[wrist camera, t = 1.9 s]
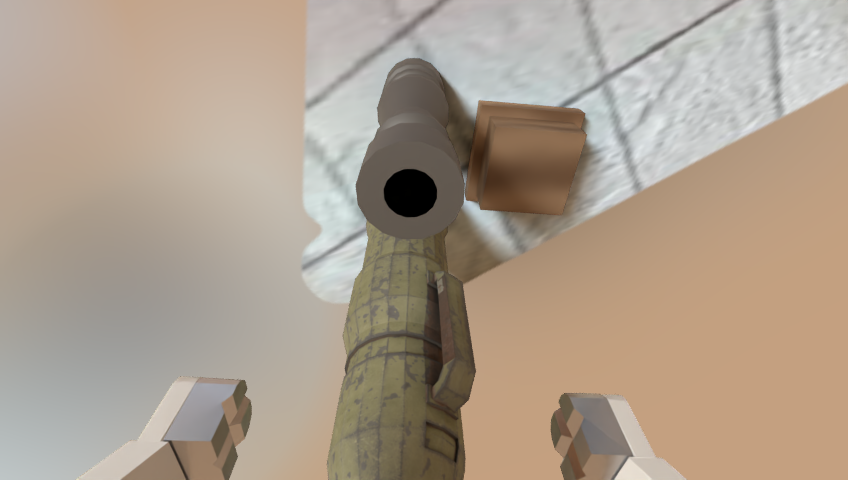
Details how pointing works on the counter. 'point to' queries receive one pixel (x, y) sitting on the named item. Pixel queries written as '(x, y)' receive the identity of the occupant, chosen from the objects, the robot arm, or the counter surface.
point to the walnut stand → (524, 157)
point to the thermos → (403, 366)
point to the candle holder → (411, 157)
